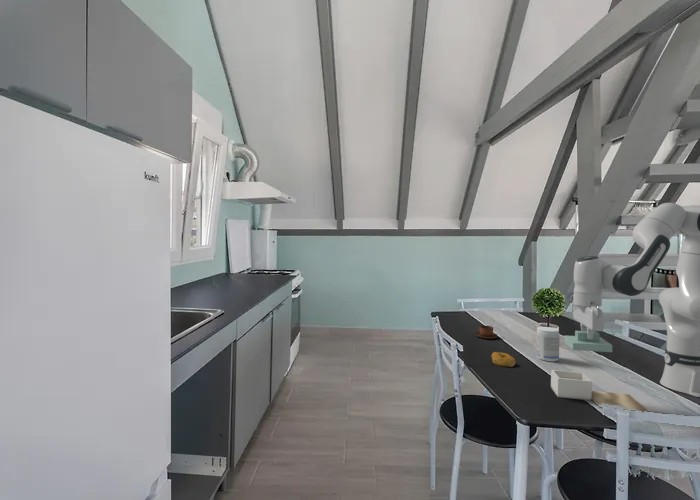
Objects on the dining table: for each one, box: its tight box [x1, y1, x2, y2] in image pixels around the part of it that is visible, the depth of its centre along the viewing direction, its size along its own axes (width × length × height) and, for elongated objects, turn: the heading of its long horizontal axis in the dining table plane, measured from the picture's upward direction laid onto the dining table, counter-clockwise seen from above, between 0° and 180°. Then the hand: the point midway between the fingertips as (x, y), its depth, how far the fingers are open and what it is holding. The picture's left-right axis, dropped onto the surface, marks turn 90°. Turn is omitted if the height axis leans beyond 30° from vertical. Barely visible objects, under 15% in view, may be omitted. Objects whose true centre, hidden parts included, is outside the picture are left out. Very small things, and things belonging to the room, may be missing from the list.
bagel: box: [491, 351, 516, 368], centre depth 170 cm, size 10×11×5 cm
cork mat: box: [591, 390, 650, 412], centre depth 131 cm, size 15×14×1 cm
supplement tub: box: [536, 326, 560, 362], centre depth 176 cm, size 10×10×15 cm
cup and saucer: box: [475, 325, 498, 340], centre depth 214 cm, size 12×12×6 cm
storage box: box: [550, 369, 593, 401], centre depth 137 cm, size 11×9×7 cm
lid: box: [563, 330, 613, 353], centre depth 135 cm, size 12×10×6 cm
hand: (587, 337), depth 135 cm, fingers closed on lid, 3 cm apart
